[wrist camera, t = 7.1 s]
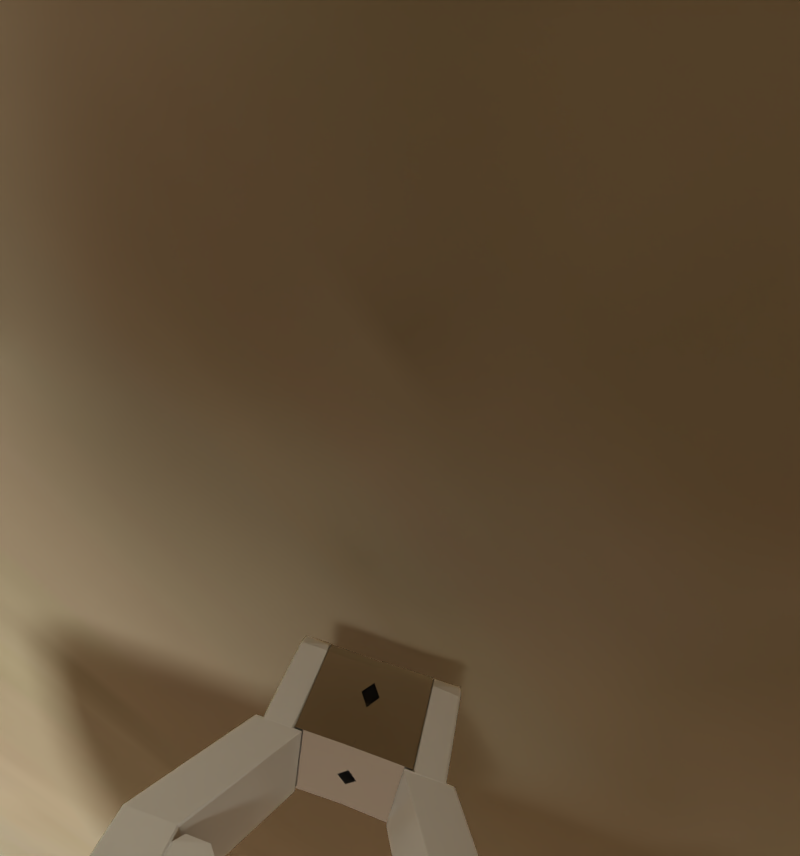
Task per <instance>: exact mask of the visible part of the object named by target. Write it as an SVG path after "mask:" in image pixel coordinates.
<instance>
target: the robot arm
mask: <svg viewBox="0 0 800 856" xmlns="http://www.w3.org/2000/svg"><path fill="white" fill-rule="evenodd" d="M460 698H461V689H460V687H459V686H456V685H452V684H449V683H446V682H443V681H440V680H437V679H433V677H430V676H427V675H424V674H421V673H418V672H415V671H412V670H408V669H405V668H402V667H399V666H396V665H393V664H390V663H386V662H383V661H382V662H381V661H378V660H375V659H372V658H370V657H367V656H364V655H361V654H358V653H355V652H353V651H350V650H347V649H344V648H341V647H338V646H335V645H333V644H331V643H328V642H325V641H322V640H319V639H316V638H313V637H310V636H307V635H306V637H305V638H304V639H303V640H302V642H301V643H300V645H299V647H298V649H297V651H296V653H295V655H294V657H293V659H292V661H291V663H290V665H289V667H288V669H287V671H286V673H285V675H284V677H283V679H282V681H281V683H280V685H279V687H278V689H277V690H276V692H275V694H274V696H273V698H272V700H271V702H270V704H269V706H268V708H267V710H266V712H265V714H264V716H260V715H257V714H255V715H254V716H252V717H251V718H249V719H248V720H246V721H245V722H243V723H242V724H240V725H239V726H237V727H236V728H235V729H233V730H232V731H230V732H229V733H227V734H226V735H224V736H223V737H221V738H220V739H218V740H217V741H215V742H214V743H212V744H211V745H210V746H208V747H207V748H205V749H204V750H202V751H201V752H199V753H198V754H196V755H195V756H193V757H192V758H190V759H189V760H187V761H186V762H185V763H183V764H182V765H180V766H179V767H177V768H176V769H174V770H173V771H171V772H170V773H168V774H167V775H165V776H164V777H162V778H161V779H160V780H158V781H157V782H155V783H154V784H152V785H151V786H149V787H148V788H146V789H145V790H143V791H142V792H140V793H139V794H137V795H136V796H135V797H133V798H132V799H130V800H129V801H127V802H126V803H124V804H123V805H122V807H121V808H120V810H119V811H118V813H117V814H116V816H115V817H114V819H113V821H112V822H111V824H110V825H109V827H108V828H107V830H106V831H105V833H104V834H103V836H102V837H101V839H100V840H99V842H98V844H97V845H96V847H95V848H94V850H93V851H92V853H91V854H90V856H226V855H227V854H228V853H229V852H230V851H231V850H232V849H233V848H234V847H235V846H236V845H237V844H239V843H240V842H241V841H242V840H243V839H244V838H245V837H246V836H247V835H248V834H249V833H250V832H251V831H253V830H254V829H255V828H256V827H257V826H258V825H259V824H260V823H261V822H262V821H263V820H264V819H265V818H267V817H268V816H269V815H270V814H271V813H272V812H273V811H274V810H275V809H276V808H277V807H278V806H279V805H281V804H282V803H283V802H284V801H285V800H286V799H287V798H288V797H289V796H290V795H291V794H292V793H294V791H295V788H297V789H300V790H303V791H306V792H308V793H311V794H314V795H317V796H320V797H323V798H326V799H329V800H332V801H334V802H337V803H340V804H343V805H345V806H348V807H350V808H352V809H355V810H357V811H360V812H362V813H364V814H367V815H369V816H372V817H374V818H377V819H379V820H381V821H384V822H386V823H387V825H386V827H387V832H388V837H389V843H390V848H391V853H392V856H479V855H478V853H477V850H476V847H475V844H474V841H473V838H472V835H471V832H470V829H469V826H468V823H467V821H466V818H465V815H464V812H463V809H462V806H461V803H460V800H459V797H458V794H457V792H456V789H455V787H454V786H452V785H450V784H447V777H448V771H449V765H450V759H451V753H452V747H453V741H454V734H455V728H456V722H457V716H458V710H459V704H460ZM341 802H342V803H341Z"/></svg>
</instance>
